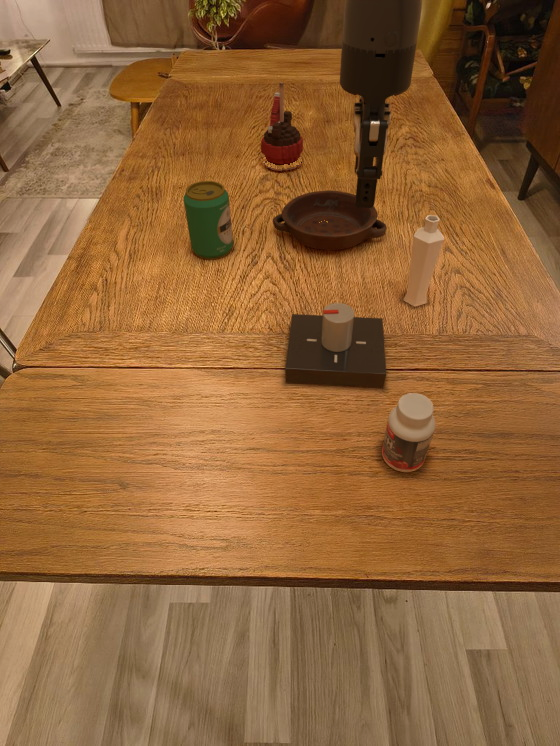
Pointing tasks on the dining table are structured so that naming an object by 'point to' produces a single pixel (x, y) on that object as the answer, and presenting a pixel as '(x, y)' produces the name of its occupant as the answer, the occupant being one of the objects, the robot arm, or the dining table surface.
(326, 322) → the stove knob
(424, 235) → the perfume bottle
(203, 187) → the beverage can
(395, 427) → the pill bottle
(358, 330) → the black dial box
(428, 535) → the dining table surface
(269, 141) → the cake
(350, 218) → the dish
